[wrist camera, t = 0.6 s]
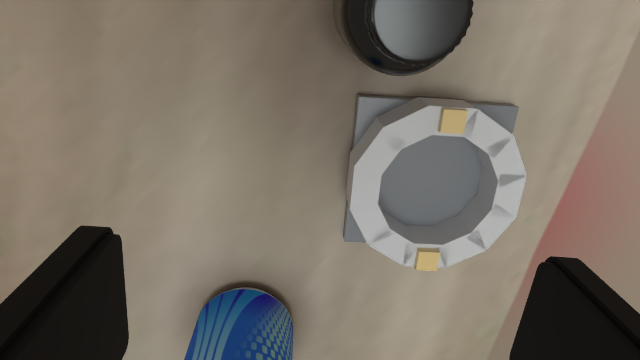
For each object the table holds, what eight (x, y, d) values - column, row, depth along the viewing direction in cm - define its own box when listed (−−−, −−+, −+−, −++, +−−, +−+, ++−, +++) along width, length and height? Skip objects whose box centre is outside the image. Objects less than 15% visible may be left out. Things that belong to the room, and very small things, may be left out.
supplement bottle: (390, -69, 29) (445, -115, 18) (447, 15, 31) (528, 21, 20) (311, 3, 31) (317, 2, 19) (371, 79, 33) (407, 117, 22)
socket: (354, 90, 33) (362, 103, 29) (516, 101, 34) (548, 114, 29) (339, 238, 37) (344, 267, 33) (483, 244, 38) (505, 274, 34)
